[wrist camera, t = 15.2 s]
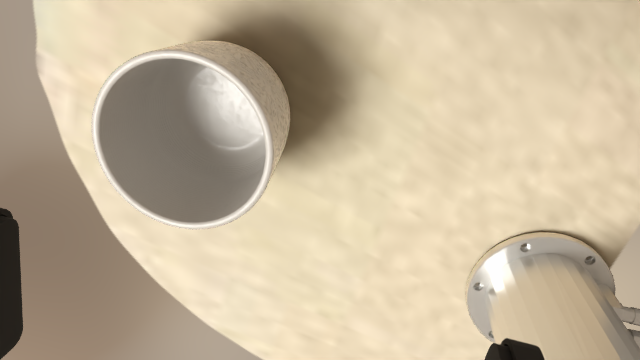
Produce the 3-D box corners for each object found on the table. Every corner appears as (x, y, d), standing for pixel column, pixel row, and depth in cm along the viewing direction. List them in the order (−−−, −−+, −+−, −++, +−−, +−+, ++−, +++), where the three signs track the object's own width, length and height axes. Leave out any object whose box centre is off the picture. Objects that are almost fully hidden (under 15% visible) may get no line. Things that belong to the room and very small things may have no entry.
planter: (258, 197, 46) (221, 260, 36) (138, 126, 44) (66, 171, 34) (328, 83, 41) (308, 119, 31) (195, 0, 39) (130, 9, 29)
